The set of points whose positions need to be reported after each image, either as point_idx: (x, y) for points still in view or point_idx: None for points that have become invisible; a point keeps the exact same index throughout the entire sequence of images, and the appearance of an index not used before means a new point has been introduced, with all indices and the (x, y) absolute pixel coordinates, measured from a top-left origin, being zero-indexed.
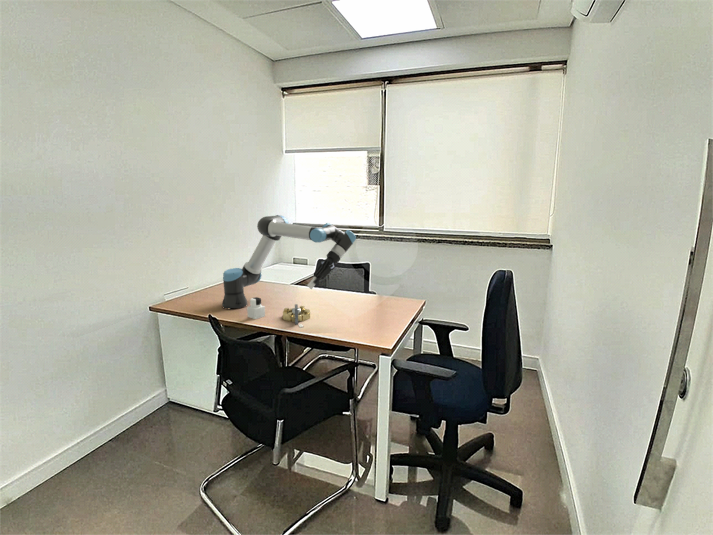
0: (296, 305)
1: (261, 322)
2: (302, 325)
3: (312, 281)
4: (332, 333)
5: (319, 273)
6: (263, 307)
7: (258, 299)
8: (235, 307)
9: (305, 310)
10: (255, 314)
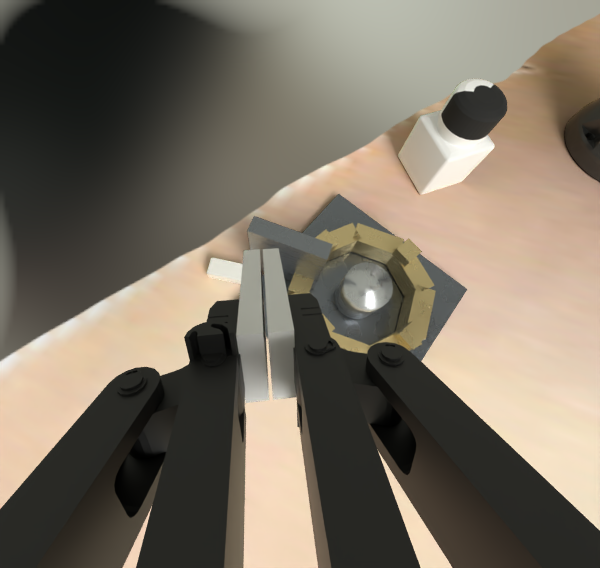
0: (307, 245)
1: (374, 169)
2: (222, 274)
3: (241, 286)
4: (74, 373)
5: (212, 425)
6: (441, 156)
7: (465, 103)
8: (570, 134)
9: (331, 324)
10: (410, 137)
